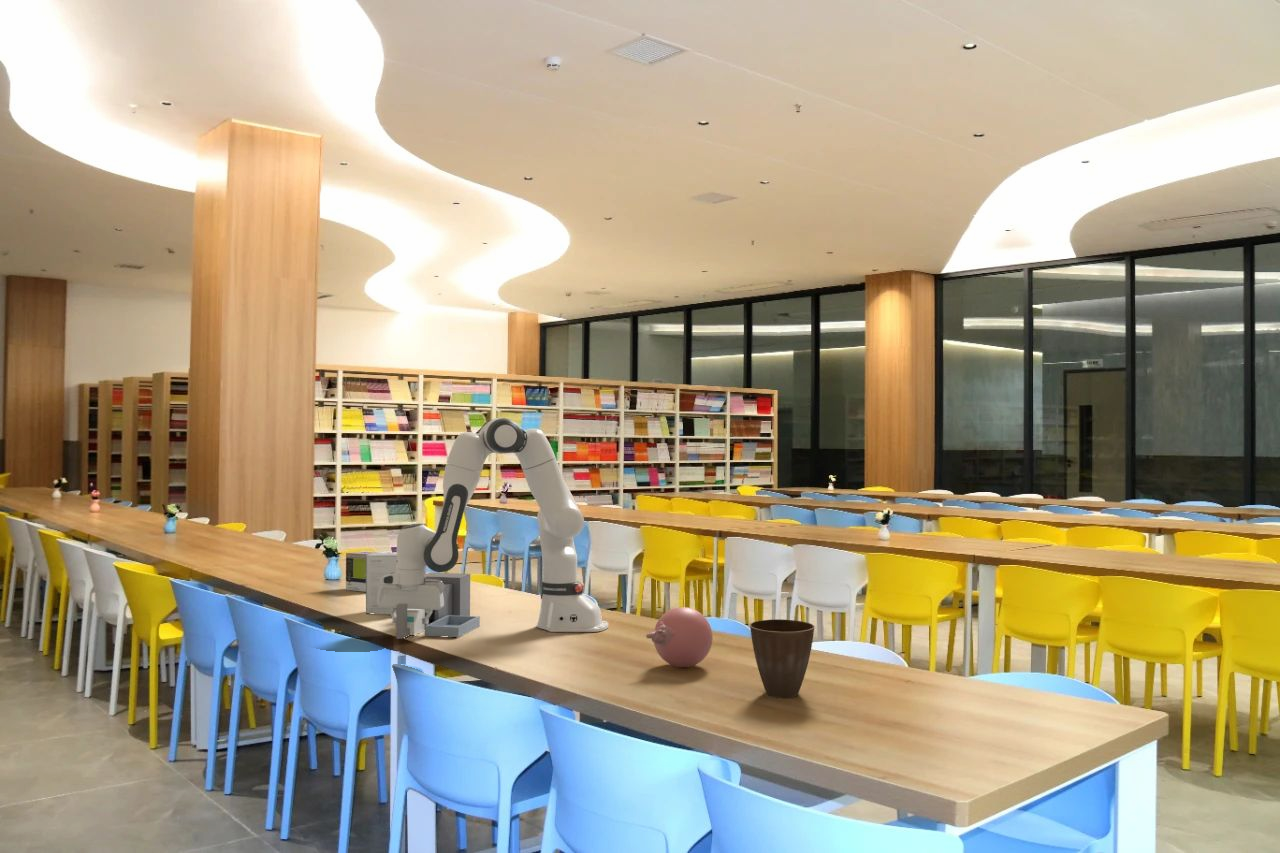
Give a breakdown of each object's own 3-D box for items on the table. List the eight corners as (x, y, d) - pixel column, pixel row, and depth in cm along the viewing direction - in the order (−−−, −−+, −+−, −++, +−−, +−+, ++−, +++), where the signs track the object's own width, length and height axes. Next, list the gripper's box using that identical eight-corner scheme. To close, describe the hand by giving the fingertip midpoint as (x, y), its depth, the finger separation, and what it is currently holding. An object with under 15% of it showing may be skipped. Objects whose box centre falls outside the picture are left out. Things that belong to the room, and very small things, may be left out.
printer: (470, 615, 329) (470, 573, 330) (445, 628, 308) (445, 583, 308) (430, 614, 332) (430, 572, 332) (403, 626, 310) (403, 581, 310)
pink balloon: (627, 667, 257) (627, 608, 257) (687, 657, 269) (687, 600, 269) (663, 679, 244) (664, 616, 244) (724, 668, 256) (724, 608, 256)
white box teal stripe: (425, 630, 304) (425, 597, 305) (408, 639, 291) (408, 605, 291) (409, 629, 305) (409, 597, 305) (392, 638, 292) (392, 604, 292)
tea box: (391, 590, 384) (391, 552, 385) (371, 593, 376) (372, 554, 376) (364, 586, 392) (364, 549, 393) (344, 590, 384) (344, 552, 384)
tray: (479, 626, 311) (479, 616, 311) (458, 638, 293) (458, 627, 293) (447, 625, 313) (447, 615, 313) (424, 636, 295) (424, 626, 295)
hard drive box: (417, 611, 338) (417, 553, 338) (409, 615, 330) (410, 555, 330) (373, 610, 339) (373, 552, 339) (364, 614, 331) (365, 554, 332)
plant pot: (806, 705, 221) (806, 633, 221) (742, 698, 227) (742, 628, 227) (819, 689, 235) (820, 622, 235) (758, 683, 240) (759, 617, 241)
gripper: (447, 577, 301) (446, 623, 300) (384, 575, 304) (383, 620, 304) (439, 580, 294) (439, 626, 294) (375, 577, 298) (374, 623, 298)
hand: (410, 623), depth 299 cm, fingers open, 8 cm apart
